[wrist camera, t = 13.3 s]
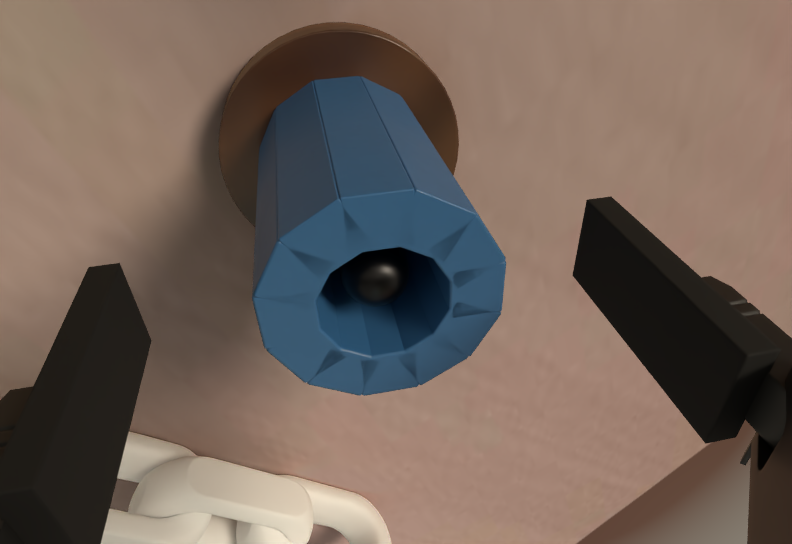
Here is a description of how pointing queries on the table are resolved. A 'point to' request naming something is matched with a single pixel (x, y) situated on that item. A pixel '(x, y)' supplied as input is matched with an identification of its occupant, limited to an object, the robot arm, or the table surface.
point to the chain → (228, 502)
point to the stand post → (376, 276)
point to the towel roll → (366, 243)
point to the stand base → (313, 60)
